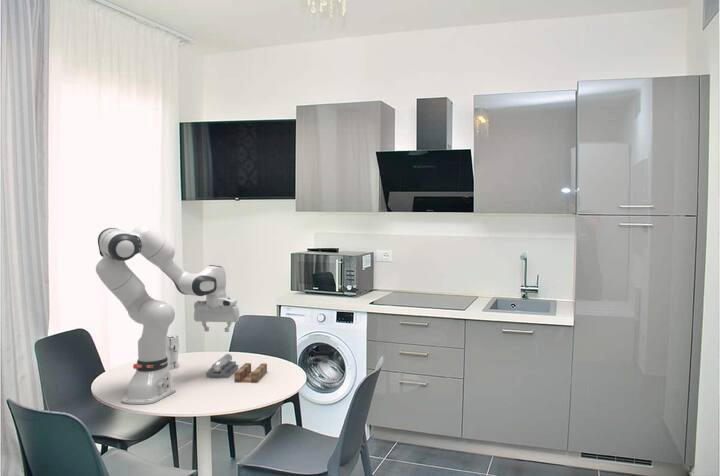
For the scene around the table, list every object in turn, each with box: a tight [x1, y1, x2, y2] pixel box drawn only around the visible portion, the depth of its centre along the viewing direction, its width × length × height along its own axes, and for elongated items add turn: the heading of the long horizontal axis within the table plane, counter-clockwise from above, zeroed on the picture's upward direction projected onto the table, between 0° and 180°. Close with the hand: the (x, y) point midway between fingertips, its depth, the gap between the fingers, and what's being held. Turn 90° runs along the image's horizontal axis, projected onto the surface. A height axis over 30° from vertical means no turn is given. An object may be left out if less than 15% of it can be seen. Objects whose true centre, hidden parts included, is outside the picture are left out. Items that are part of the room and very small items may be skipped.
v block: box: [206, 360, 239, 379], centre depth 259 cm, size 14×10×4 cm
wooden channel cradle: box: [233, 362, 268, 384], centre depth 252 cm, size 16×10×5 cm, turn 174°
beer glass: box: [166, 334, 180, 370], centre depth 272 cm, size 7×7×15 cm
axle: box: [211, 353, 233, 372], centre depth 258 cm, size 16×4×4 cm, turn 174°
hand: (216, 331), depth 253 cm, fingers open, 8 cm apart
